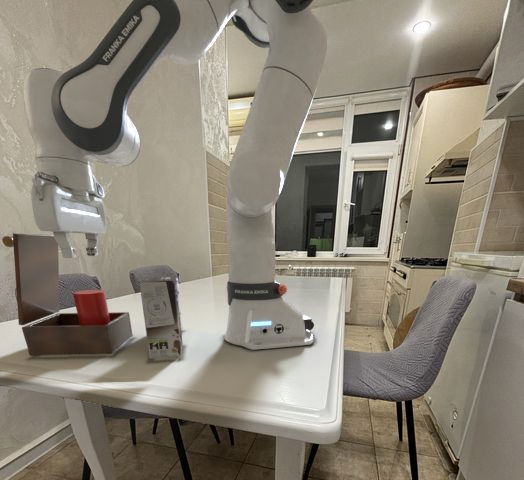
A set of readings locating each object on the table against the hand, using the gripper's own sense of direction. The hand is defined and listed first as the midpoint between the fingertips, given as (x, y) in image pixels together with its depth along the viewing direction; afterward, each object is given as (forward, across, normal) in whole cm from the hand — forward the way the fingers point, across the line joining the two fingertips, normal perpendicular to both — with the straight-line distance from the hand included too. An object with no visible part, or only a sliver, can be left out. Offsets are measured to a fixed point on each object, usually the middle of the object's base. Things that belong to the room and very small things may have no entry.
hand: (82, 256), depth 60 cm
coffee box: (+20, -5, -17) cm, 27 cm away
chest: (+20, 0, +3) cm, 20 cm away
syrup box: (+20, +10, -14) cm, 26 cm away
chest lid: (+4, 0, +9) cm, 10 cm away
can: (+19, 0, 0) cm, 19 cm away
